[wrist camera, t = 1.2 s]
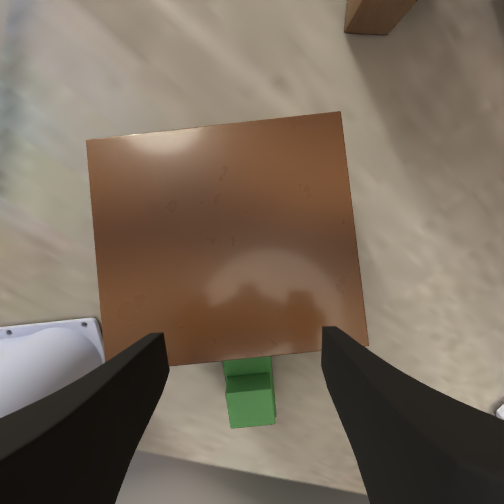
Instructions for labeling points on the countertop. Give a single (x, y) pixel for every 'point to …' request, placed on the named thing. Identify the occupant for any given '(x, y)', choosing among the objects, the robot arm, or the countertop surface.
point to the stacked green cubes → (250, 392)
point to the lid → (226, 238)
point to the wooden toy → (374, 15)
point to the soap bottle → (500, 412)
